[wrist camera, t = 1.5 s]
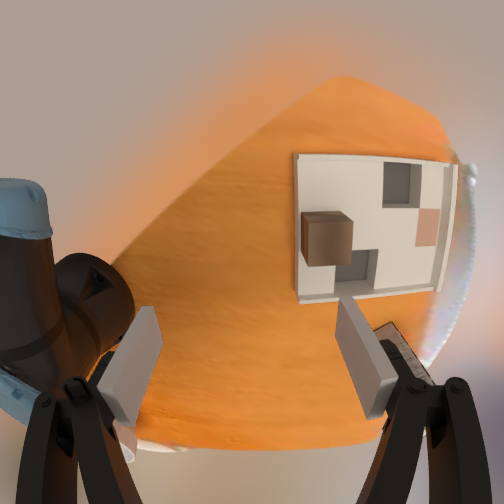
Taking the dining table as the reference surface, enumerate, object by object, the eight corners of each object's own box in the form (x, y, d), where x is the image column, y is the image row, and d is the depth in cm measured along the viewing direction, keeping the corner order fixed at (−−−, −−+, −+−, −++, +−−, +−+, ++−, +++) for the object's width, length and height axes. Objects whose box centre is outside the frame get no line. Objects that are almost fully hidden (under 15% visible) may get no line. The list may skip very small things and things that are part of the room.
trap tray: (294, 287, 37) (300, 307, 32) (292, 153, 31) (300, 154, 26) (423, 276, 37) (440, 292, 32) (435, 160, 31) (457, 164, 26)
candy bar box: (403, 360, 43) (441, 428, 28) (379, 373, 44) (411, 444, 28) (393, 318, 39) (442, 392, 24) (365, 333, 40) (405, 413, 25)
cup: (82, 388, 46) (62, 426, 36) (124, 383, 44) (105, 428, 34) (116, 424, 50) (103, 461, 40) (159, 422, 49) (148, 464, 38)
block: (300, 251, 32) (307, 267, 28) (300, 212, 31) (308, 222, 26) (338, 249, 32) (350, 264, 28) (340, 210, 30) (353, 221, 26)
